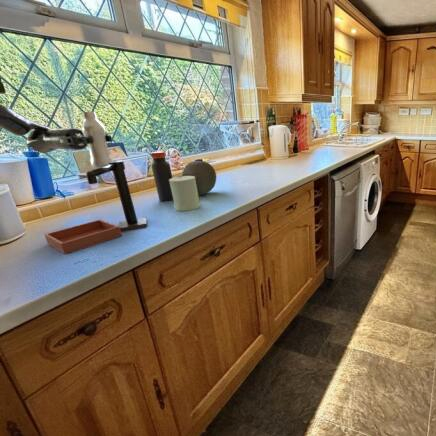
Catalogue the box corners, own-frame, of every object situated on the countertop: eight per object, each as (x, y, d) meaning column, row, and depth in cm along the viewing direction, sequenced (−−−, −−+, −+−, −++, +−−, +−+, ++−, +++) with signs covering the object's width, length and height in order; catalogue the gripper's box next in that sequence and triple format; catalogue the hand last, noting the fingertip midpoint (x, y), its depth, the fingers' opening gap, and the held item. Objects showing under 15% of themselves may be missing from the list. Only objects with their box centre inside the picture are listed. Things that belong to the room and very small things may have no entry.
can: (196, 202, 124) (190, 173, 120) (203, 207, 117) (198, 176, 113) (172, 207, 118) (165, 177, 114) (178, 212, 112) (172, 180, 108)
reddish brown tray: (64, 254, 81) (61, 243, 80) (47, 244, 88) (44, 234, 87) (122, 235, 92) (119, 226, 91) (103, 228, 99) (100, 219, 98)
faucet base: (118, 232, 95) (101, 173, 89) (119, 225, 101) (104, 170, 94) (147, 226, 99) (132, 170, 92) (147, 220, 104) (133, 167, 98)
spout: (115, 172, 95) (112, 160, 94) (128, 171, 96) (125, 160, 94) (83, 184, 80) (79, 170, 79) (98, 183, 80) (94, 169, 79)
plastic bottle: (94, 170, 110) (78, 112, 103) (116, 168, 113) (101, 111, 106) (91, 173, 105) (73, 112, 98) (114, 171, 107) (98, 111, 101)
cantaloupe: (181, 194, 136) (174, 161, 131) (212, 189, 145) (206, 157, 140) (192, 201, 126) (185, 165, 121) (224, 194, 135) (219, 160, 130)
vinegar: (157, 199, 130) (146, 152, 123) (174, 196, 134) (164, 150, 127) (161, 202, 125) (150, 153, 118) (178, 199, 129) (168, 152, 123)
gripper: (42, 129, 102) (75, 129, 97) (87, 127, 115) (118, 126, 109) (50, 152, 105) (82, 153, 99) (92, 147, 117) (123, 148, 112)
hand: (100, 139), depth 104 cm, fingers closed on plastic bottle, 6 cm apart
